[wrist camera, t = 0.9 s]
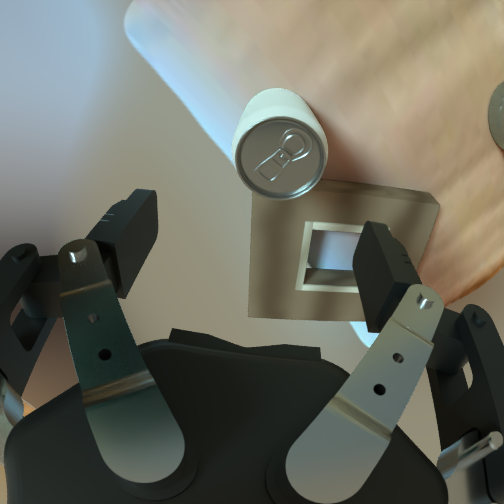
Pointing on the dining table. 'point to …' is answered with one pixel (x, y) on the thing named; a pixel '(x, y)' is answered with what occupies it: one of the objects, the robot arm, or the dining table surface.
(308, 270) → the socket board
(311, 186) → the can
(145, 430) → the robot arm
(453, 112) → the dining table surface
